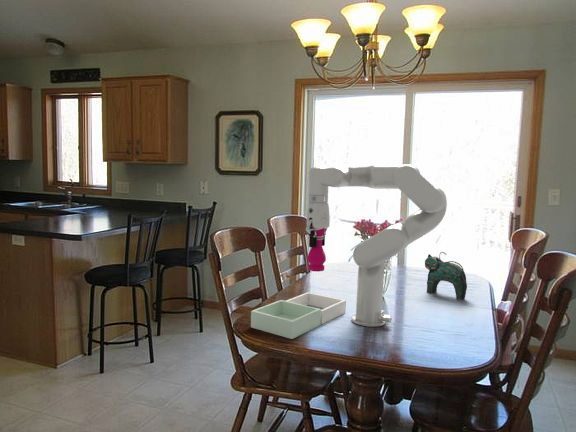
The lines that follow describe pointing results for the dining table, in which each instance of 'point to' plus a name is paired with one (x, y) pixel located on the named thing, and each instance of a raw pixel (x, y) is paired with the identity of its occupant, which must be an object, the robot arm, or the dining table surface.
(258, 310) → the bin
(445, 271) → the ceramic cat
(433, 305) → the dining table surface
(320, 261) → the pepper mill
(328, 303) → the crate
